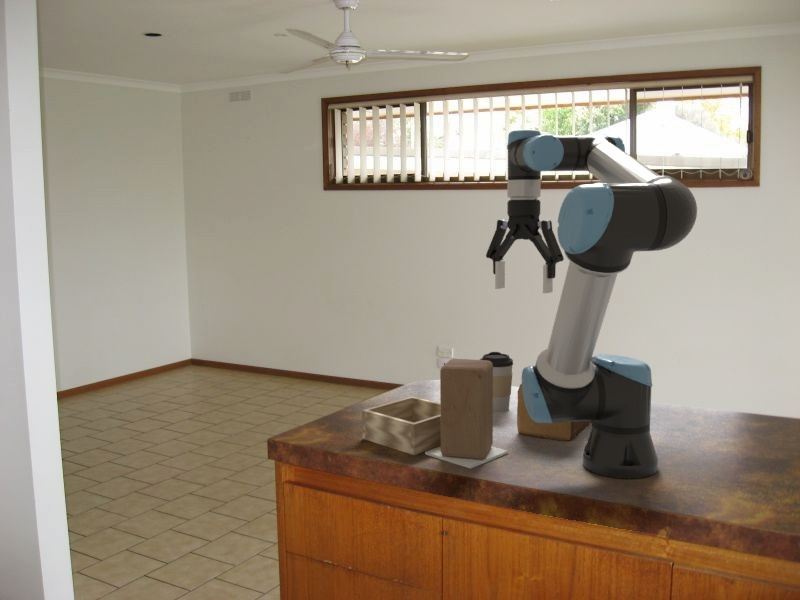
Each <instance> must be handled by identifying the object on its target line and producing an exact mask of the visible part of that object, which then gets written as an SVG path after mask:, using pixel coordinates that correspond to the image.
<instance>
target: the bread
mask: <svg viewBox="0 0 800 600" xmlns="http://www.w3.org/2000/svg"><path fill="white" fill-rule="evenodd" d="M593 358H594V356H592V358H591V362H592V363H593V361H592V360H593ZM516 409H517V410H516V414H517V415H516V418H517V419H516V426H517V427H516V428H517V432H518V433H519V434H521V435H525V436H530V435H531V436H532V437H538V438H543V437H544V438H543V439H550V438H551V440H556V439H557V440H558V441H563V442H571V441H572V440H573V439H574V438H576V437H577V436H578V435H579V434H580V433H581V432H583V431H584V430H585V429H586V428H587V427H588V426H589V425H590V424H592V420H589V421H575V422H560V423H553V424H552V423H551V424H550V423H537V422H535V421H533V420H532V419H531V418H530V416H529V414H528V412H527V409H526V406H525V402H524V397H523V391H522V383H520V384H519V387H518V390H517V408H516Z"/></svg>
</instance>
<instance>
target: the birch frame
mask: <svg viewBox="0 0 800 600" xmlns="http://www.w3.org/2000/svg"><path fill="white" fill-rule="evenodd" d="M361 416H362V417H361V418H362V421H361V422H362V423H361V424H362V440H365V441H368V442H372V443H375V444H377V445H381V446H384V447H387V448H390V449H394V450H397V451H400V452H403V453H406V454H409V455H412V456H416V455H419V454H421V453H425V452H426V451H429V450H432V449H435V448H438V447H440V446H441V405H440V402H437V401H432V400H430V399H429V400H428V399H425V398H420V397H416V396H412V395H411V396H409V397H405V398H401V399H396V400H394V401H390V402H387V403H383V404H380V405H376V406H373V407H368V408H366V409H362V410H361Z"/></svg>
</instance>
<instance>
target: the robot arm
mask: <svg viewBox="0 0 800 600" xmlns="http://www.w3.org/2000/svg"><path fill="white" fill-rule="evenodd" d="M506 149H507V192H506V193H507V194H506V195H507V196H506V197H507V198H509V199H510V200H508V201H507V203H506V204H507V211H506V212H507V216H508V220H507V219H497V221H496V229H495V231H494V234H493V236H492V238H491V242H490V244H489V247H488V248H487V251H486V254H485V257H486V258H487V259H490V260H492V273H493V275H494V279H495V280H494V281H495V282H494V283H495V285H494V287H495V289H496V290H498V289H499V290H500V289H505V287H506V286H505V285H506V284H505V283H506V282H505V281H506V277H505V276H506V264H505V263H506V261H505V260H504V257H505V255H506V254H507V253H508V252H509V250H510V248H511V247H512V246H513V244H514V243H515V242H516V241H517V240H525V241H526V240H529V241H530V242H532V243H533V245H534V247H535V248H536V249H537V251H538V253H539V255H541V257H542V258H543V260H544V261H545V263H543V265H542V293H543V294H549V293H553V284H554V283H553V281H554V279H556V269H557V268H556V265H557V264H558V263H560V262H563V261H564V255H565V257H566V259H567V260H568V262H569V263H568V266H567V267H568V268H567V271H566V275H565V280H564V284H563V287H562V290H561V295H560V300H559V302H558V305H557V306H558V307H557V310H556V314H555V318H554V322H553V326H552V329H551V335H550V338H549V341H548V342H549V343H548V347H547V348H545V349H544V350H542V351H541V352H540V353H539V354H538V356H537V358H536V360H535V361H536V362H535V365H534V366H533V365H528V366H526V367H524V368H523V369H522V371H521V384H522V391H523V397H524V402H525V406H526V409H527V412H528V414H529V416H530V418H531V419H532V420H533V421H535V422H537V423H550V424H551V423H552V424H553V423H560V422H575V421H589V420H592V422H591V431H590V433H589V436H588V439H587V442H586V444H585V446H584V450H583V451H582V452H583V453H582V465H583V467H584V468H586V469H587V470H588V471H590V472H593V473H595V474H598V475H601V476H605V477H609V478H615V479H641V478H646V477H647V478H648V477H651V476H653V475H654V474H656V473H657V471H658V469H659V467H658V466H659V464H658V463H659V462H658V461H659V459H658V455H657V451H656V448H655V445H654V441H653V439H652V435H651V411H652V387H653V382H652V381H653V379H652V370H651V369H652V368H651V367H650V366H649V364H648V363H646V362H645V361H643V360H639V359H638V358H637V359H636V358H632V357H630V356H629V357H628V356H621V355H617V354H615V355H614V354H602V353H601V354H600V353H599V354H596V355H594V351H595V348H596V345H597V342H598V338H599V335H600V332H601V329H602V326H603V323H604V319H605V315H606V312H607V309H608V307H609V303H610V299H611V296H612V293H613V290H614V286H615V283H616V280H617V276H618V274H620V273H622V272H624V271H626V270H627V269H628V268H629V266H630V264H631V262H632V258H633V256H634V255H633V254H634V253H635V252H655V251H657V252H659V251H662V250H667V249H669V248H672V247H674V246H676V245H678V244H679V243H681V242H682V241H683V240H685V239H686V237H687V236H688V235H689V234H690V232H692V229H693V228H694V225H695V223H696V220H697V217H698V215H697V214H698V207H697V202H696V201H697V200H696V198H695V196H694V195H693V192H692V191H691V190H690V188H688V186H686V185H685V184H684V183H683V182H681V181H679V180H678V179H676V178H675V177H672V176H669V175H659V174H658V173H657V172H656V171H654V170H652V169H651V168H649V167H648V166H646V165H645V164H643V163H642V162H640V161H639V160H637V159H636V158H634V157H633V156H631V155H630V154H628V153H627V152H626V147H625V144H624V143H623V139H622V138H621V137H619V136H616V135H608V134H603V135H601V134H600V135H552V134H549V133H548V134H547V133H546V134H542V133H541V131H540V130H537V129H518V130H512V131H510V132H509V133H508V136H507V145H506ZM542 172H588V173H590V174H591V175H592V176H594V177H595V178H596V179H597V180H599V181H600V182H594V183H587V184H579V185H578V186H575V187H574V188H571V190H570V191H569V192H568V193H567V194H566V196H565V197H564V199H563V201H562V203H561V205H560V209H559V212H558V217H557V223H558V227H557V228H556V229H557V238H556V235H555V233H554V231H553V222H552V220H550V219H546V220H541V221H540V215H541V201H540V199H539V198H540V197H541V182H542V181H541V179H542V178H541V177H542V176H541V175H542V174H541V173H542ZM507 229H509V230H508V232H507ZM539 229H540V230H541V232H542V234H541V233H540V231H539ZM506 232H507V233H506ZM543 238H544V239H543ZM557 239H558V240H557ZM559 245H560V246H559ZM561 249H562V250H563V251H564V255H563V253H562V250H561ZM593 355H594V356H593ZM592 357H594V358H593V360H592V361H593V363H592V362H591V358H592Z"/></svg>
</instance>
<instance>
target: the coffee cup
mask: <svg viewBox="0 0 800 600" xmlns="http://www.w3.org/2000/svg"><path fill="white" fill-rule="evenodd" d="M479 360H489V361H491V362H492V364H493V413H506V412H508V411H510V401H511V394H512V382H513V365H514V359H513V358H511V357H510V356H509V354H505V353H502V352H499V351H491V352H489V353H486V354H484V355H482V357H481V358H479Z"/></svg>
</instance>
